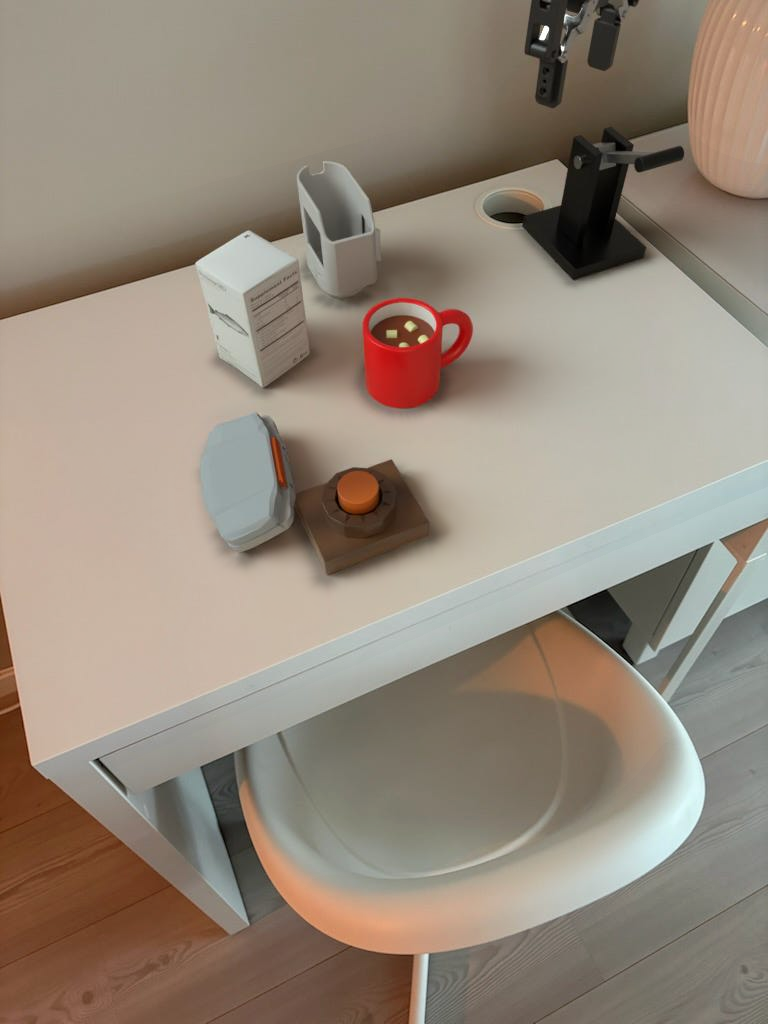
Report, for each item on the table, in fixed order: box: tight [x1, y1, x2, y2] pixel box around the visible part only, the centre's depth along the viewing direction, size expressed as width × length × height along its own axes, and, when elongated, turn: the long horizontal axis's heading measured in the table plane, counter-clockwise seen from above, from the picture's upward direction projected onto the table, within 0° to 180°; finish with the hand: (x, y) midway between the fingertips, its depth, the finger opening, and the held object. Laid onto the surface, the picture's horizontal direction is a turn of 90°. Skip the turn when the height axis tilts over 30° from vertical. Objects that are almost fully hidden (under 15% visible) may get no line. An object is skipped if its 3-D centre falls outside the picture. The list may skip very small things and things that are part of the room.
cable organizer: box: [296, 160, 382, 299], centre depth 85 cm, size 7×12×12 cm, turn 22°
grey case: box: [199, 411, 296, 553], centre depth 70 cm, size 14×3×8 cm
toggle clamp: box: [521, 126, 647, 281], centre depth 88 cm, size 12×10×13 cm
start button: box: [337, 471, 379, 515], centre depth 66 cm, size 4×4×2 cm
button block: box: [294, 458, 430, 576], centre depth 68 cm, size 8×10×4 cm
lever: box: [592, 141, 685, 174], centre depth 80 cm, size 12×5×2 cm, turn 24°
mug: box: [362, 297, 474, 409], centre depth 77 cm, size 8×12×8 cm, turn 117°
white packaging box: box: [194, 229, 311, 389], centre depth 77 cm, size 7×7×13 cm
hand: (574, 85), depth 66 cm, fingers open, 8 cm apart
